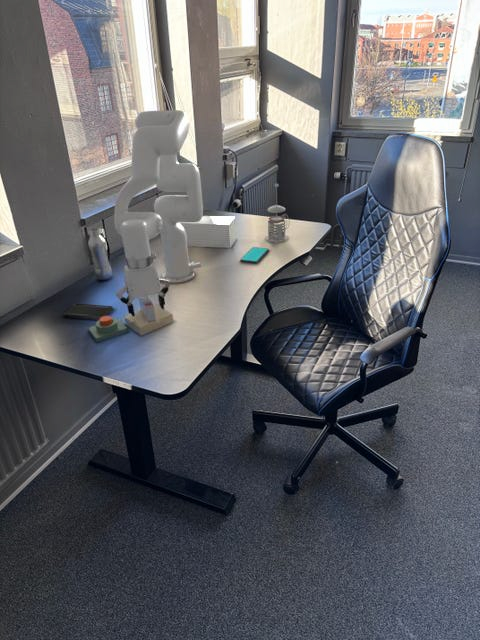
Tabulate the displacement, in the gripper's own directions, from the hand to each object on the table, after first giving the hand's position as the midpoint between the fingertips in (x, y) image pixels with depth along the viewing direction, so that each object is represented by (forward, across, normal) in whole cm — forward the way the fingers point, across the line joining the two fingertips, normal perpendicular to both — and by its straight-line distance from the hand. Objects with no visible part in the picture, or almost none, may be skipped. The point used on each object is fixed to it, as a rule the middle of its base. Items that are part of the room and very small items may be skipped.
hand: (147, 310), depth 148 cm
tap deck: (+5, 0, 0) cm, 5 cm away
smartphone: (+5, -55, -32) cm, 64 cm away
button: (+1, +13, -1) cm, 13 cm away
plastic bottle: (+5, +6, -44) cm, 44 cm away
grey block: (+2, 0, 0) cm, 2 cm away
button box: (+5, +13, -1) cm, 14 cm away
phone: (+5, +16, -17) cm, 24 cm away
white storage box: (+5, -41, -61) cm, 74 cm away
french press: (+5, -74, -45) cm, 87 cm away
